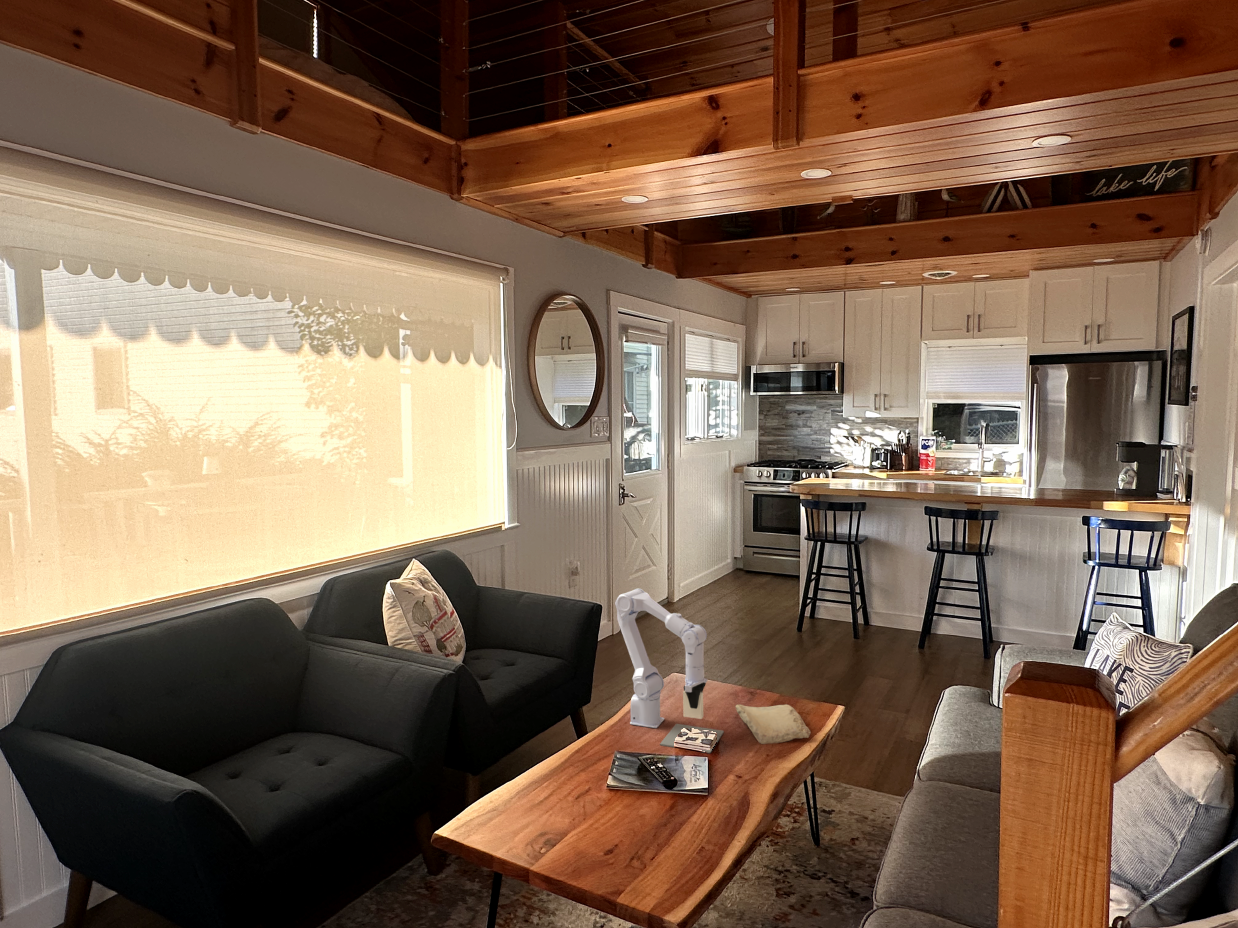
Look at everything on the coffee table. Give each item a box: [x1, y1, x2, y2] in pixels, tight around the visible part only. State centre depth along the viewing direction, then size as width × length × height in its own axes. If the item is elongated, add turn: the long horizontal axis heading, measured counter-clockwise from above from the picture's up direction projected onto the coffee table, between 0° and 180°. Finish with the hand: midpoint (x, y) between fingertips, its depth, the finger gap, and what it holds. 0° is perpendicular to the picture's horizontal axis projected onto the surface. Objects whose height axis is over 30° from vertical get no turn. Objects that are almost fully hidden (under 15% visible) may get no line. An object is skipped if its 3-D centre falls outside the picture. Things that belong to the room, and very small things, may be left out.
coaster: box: [682, 690, 704, 720], centre depth 249 cm, size 6×2×8 cm, turn 68°
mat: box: [659, 723, 725, 754], centre depth 246 cm, size 16×16×1 cm
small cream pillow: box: [735, 704, 811, 745], centre depth 254 cm, size 24×8×20 cm
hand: (695, 706), depth 248 cm, fingers closed on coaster, 2 cm apart
